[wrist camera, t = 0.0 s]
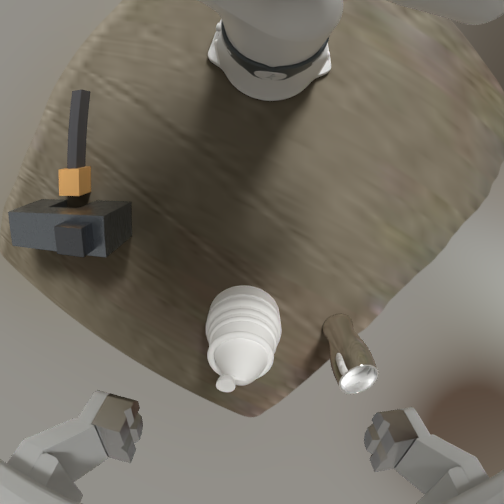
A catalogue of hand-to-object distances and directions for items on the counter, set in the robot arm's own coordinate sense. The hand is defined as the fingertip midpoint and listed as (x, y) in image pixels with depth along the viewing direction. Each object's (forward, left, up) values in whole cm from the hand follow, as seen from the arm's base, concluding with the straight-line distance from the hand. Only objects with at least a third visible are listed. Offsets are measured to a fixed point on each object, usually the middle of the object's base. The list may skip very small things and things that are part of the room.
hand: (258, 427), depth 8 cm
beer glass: (+22, +18, -39) cm, 48 cm away
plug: (-9, -31, -39) cm, 51 cm away
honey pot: (+21, 0, -39) cm, 44 cm away
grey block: (+4, -31, -39) cm, 50 cm away
